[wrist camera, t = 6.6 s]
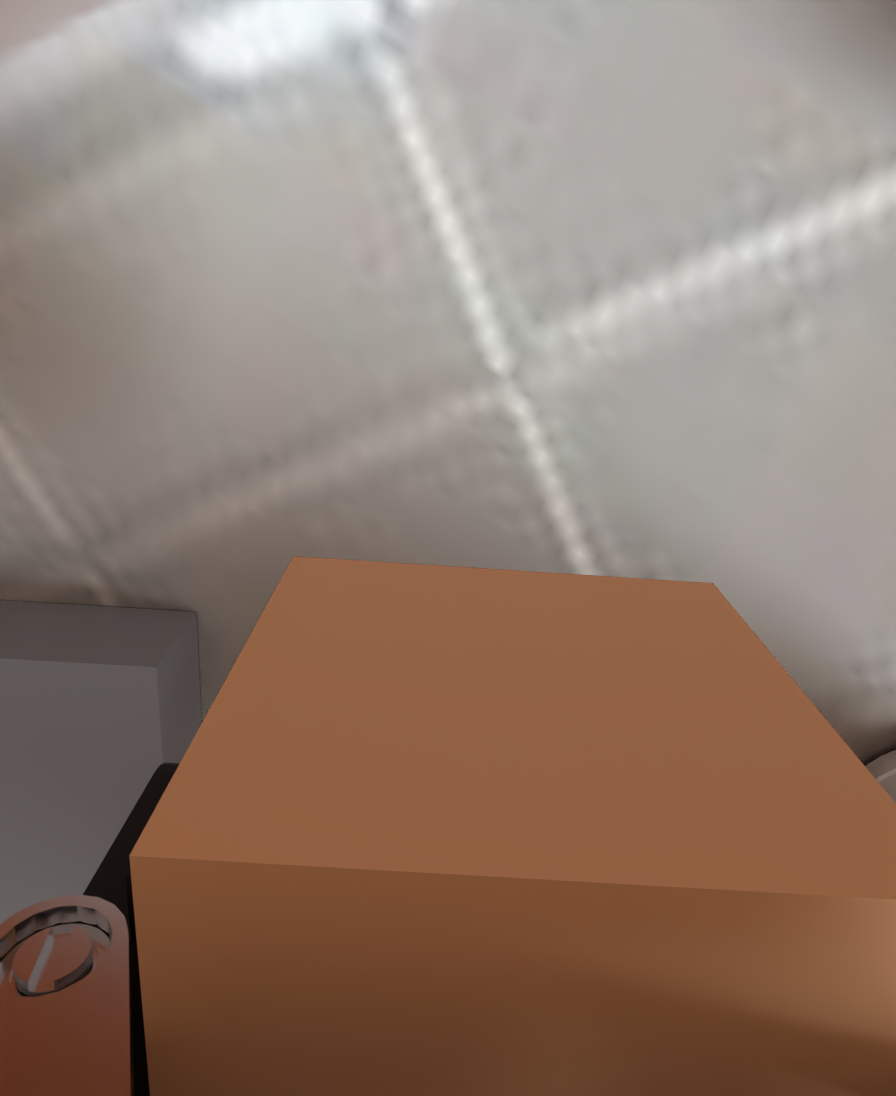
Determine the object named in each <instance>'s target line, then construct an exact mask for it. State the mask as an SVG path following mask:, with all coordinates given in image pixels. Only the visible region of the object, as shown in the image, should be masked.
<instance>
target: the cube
mask: <svg viewBox="0 0 896 1096" xmlns="http://www.w3.org/2000/svg"><path fill="white" fill-rule="evenodd" d="M129 858H130V870H131V881H132V893H133V904H134V916H135V927H136V939H137V951H138V962H139V974H140V985H141V997H142V1008H143V1020H144V1032H145V1043H146V1055H147V1066H148V1078H149V1089H150V1096H896V803H895V802H894V801H893V799H892V798H891V797H890V796H889V795H888V793H887V792H886V791H885V790H884V789H883V787H882V786H881V785H880V784H879V783H878V781H877V780H876V779H875V778H874V777H873V775H872V774H871V773H870V772H869V771H868V769H867V768H866V767H865V766H864V765H863V763H862V762H861V761H860V760H859V758H858V757H857V756H856V755H855V754H854V752H853V751H852V750H851V749H850V748H849V746H848V745H847V744H846V743H845V742H844V740H843V739H842V738H841V737H840V736H839V734H838V733H837V732H836V731H835V730H834V728H833V727H832V726H831V725H830V724H829V722H828V721H827V720H826V719H825V718H824V716H823V715H822V714H821V713H820V711H819V710H818V709H817V708H816V707H815V705H814V704H813V703H812V702H811V701H810V699H809V698H808V697H807V696H806V695H805V693H804V692H803V691H802V690H801V689H800V687H799V686H798V685H797V684H796V683H795V681H794V680H793V679H792V678H791V677H790V675H789V674H788V673H787V672H786V671H785V669H784V668H783V667H782V666H781V664H780V663H779V662H778V661H777V660H776V658H775V657H774V656H773V655H772V654H771V652H770V651H769V650H768V649H767V648H766V646H765V645H764V644H763V643H762V642H761V640H760V639H759V638H758V637H757V636H756V634H755V633H754V632H753V631H752V630H751V628H750V627H749V626H748V625H747V624H746V622H745V621H744V620H743V619H742V617H741V616H740V615H739V614H738V613H737V611H736V610H735V609H734V608H733V607H732V605H731V604H730V603H729V602H728V601H727V599H726V598H725V597H724V596H723V595H722V593H721V592H720V591H719V590H718V589H717V587H716V586H715V585H714V584H713V583H701V582H686V581H670V580H655V579H639V578H624V577H609V576H593V575H578V574H562V573H547V572H531V571H516V570H500V569H485V568H469V567H454V566H438V565H423V564H407V563H392V562H376V561H361V560H345V559H330V558H314V557H299V556H293V558H292V560H291V561H290V563H289V565H288V567H287V569H286V571H285V572H284V574H283V576H282V578H281V580H280V582H279V583H278V585H277V587H276V589H275V591H274V593H273V594H272V596H271V598H270V600H269V602H268V603H267V605H266V607H265V609H264V611H263V613H262V614H261V616H260V618H259V620H258V622H257V624H256V625H255V627H254V629H253V631H252V633H251V635H250V636H249V638H248V640H247V642H246V644H245V645H244V647H243V649H242V651H241V653H240V655H239V656H238V658H237V660H236V662H235V664H234V666H233V667H232V669H231V671H230V673H229V675H228V676H227V678H226V680H225V682H224V684H223V686H222V687H221V689H220V691H219V693H218V695H217V697H216V698H215V700H214V702H213V704H212V706H211V708H210V709H209V711H208V713H207V715H206V717H205V718H204V720H203V722H202V724H201V726H200V728H199V729H198V731H197V733H196V735H195V737H194V739H193V740H192V742H191V744H190V746H189V748H188V750H187V751H186V753H185V755H184V757H183V759H182V760H181V762H180V764H179V766H178V768H177V770H176V771H175V773H174V775H173V777H172V779H171V781H170V782H169V784H168V786H167V788H166V790H165V792H164V793H163V795H162V797H161V799H160V801H159V802H158V804H157V806H156V808H155V810H154V812H153V813H152V815H151V817H150V819H149V821H148V823H147V824H146V826H145V828H144V830H143V832H142V833H141V835H140V837H139V839H138V841H137V843H136V844H135V846H134V848H133V850H132V852H131V854H130V855H129Z"/></svg>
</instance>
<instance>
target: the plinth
mask: <svg viewBox="0 0 896 1096" xmlns="http://www.w3.org/2000/svg"><path fill="white" fill-rule="evenodd" d="M201 724H202V714H201V693H200V672H199V651H198V630H197V612H191V611H175V610H158V609H141V608H125V607H108V606H91V605H75V604H58V603H41V602H25V601H8V600H0V924H1V923H3V922H4V921H5V920H6V919H8V918H9V917H10V916H12V915H13V914H15V913H17V912H19V911H21V910H23V909H25V908H27V907H29V906H31V905H33V904H35V903H39V902H42V901H45V900H48V899H52V898H55V897H61V896H70V895H83V893H84V891H85V890H86V888H87V886H88V885H89V883H90V881H91V880H92V878H93V876H94V874H95V873H96V871H97V869H98V868H99V866H100V864H101V862H102V861H103V859H104V857H105V856H106V854H107V852H108V851H109V849H110V847H111V845H112V844H113V842H114V840H115V839H116V837H117V835H118V834H119V832H120V830H121V828H122V827H123V825H124V823H125V822H126V820H127V818H128V817H129V815H130V813H131V811H132V810H133V808H134V806H135V805H136V803H137V801H138V799H139V798H140V796H141V794H142V793H143V791H144V789H145V788H146V786H147V784H148V782H149V781H150V779H151V777H152V776H153V774H154V772H155V771H156V769H157V768H158V767H159V766H160V765H161V764H163V763H180V762H181V760H182V759H183V757H184V755H185V753H186V751H187V750H188V748H189V746H190V744H191V742H192V740H193V739H194V737H195V735H196V733H197V731H198V729H199V728H200V726H201Z"/></svg>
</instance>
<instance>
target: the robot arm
mask: <svg viewBox="0 0 896 1096" xmlns="http://www.w3.org/2000/svg"><path fill="white" fill-rule="evenodd" d="M179 764H180V763H163V764H161V765H160V766H159V767H158V768H157V769H156V771H155V772H154V774H153V776H152V777H151V779H150V781H149V782H148V784H147V786H146V788H145V789H144V791H143V793H142V794H141V796H140V798H139V799H138V801H137V803H136V805H135V806H134V808H133V810H132V811H131V813H130V815H129V817H128V818H127V820H126V822H125V823H124V825H123V827H122V828H121V830H120V832H119V834H118V835H117V837H116V839H115V840H114V842H113V844H112V845H111V847H110V849H109V851H108V852H107V854H106V856H105V857H104V859H103V861H102V862H101V864H100V866H99V868H98V869H97V871H96V873H95V874H94V876H93V878H92V880H91V881H90V883H89V885H88V886H87V888H86V890H85V891H84V893H83V895H70V896H61V897H55V898H52V899H48V900H45V901H42V902H39V903H35V904H33V905H31V906H29V907H27V908H25V909H23V910H21V911H19V912H17V913H15V914H13V915H12V916H10V917H9V918H8V919H6V920H5V921H4V922H3V923H1V924H0V1096H150V1089H149V1078H148V1066H147V1055H146V1043H145V1032H144V1020H143V1008H142V997H141V985H140V974H139V962H138V951H137V939H136V927H135V916H134V904H133V893H132V881H131V870H130V858H129V855H130V854H131V852H132V850H133V848H134V846H135V844H136V843H137V841H138V839H139V837H140V835H141V833H142V832H143V830H144V828H145V826H146V824H147V823H148V821H149V819H150V817H151V815H152V813H153V812H154V810H155V808H156V806H157V804H158V802H159V801H160V799H161V797H162V795H163V793H164V792H165V790H166V788H167V786H168V784H169V782H170V781H171V779H172V777H173V775H174V773H175V771H176V770H177V768H178V766H179ZM865 767H866V768H867V769H868V771H869V772H870V773H871V774H872V775H873V777H874V778H875V779H876V780H877V781H878V783H879V784H880V785H881V786H882V787H883V789H884V790H885V791H886V792H887V793H888V795H889V796H890V797H891V798H892V799H893V801H894V802H895V803H896V750H894V751H891V752H889V753H887V754H884V755H882V756H880V757H879V758H877V759H875V760H874V761H872V762H870V763H869V764H867V765H865Z"/></svg>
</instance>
